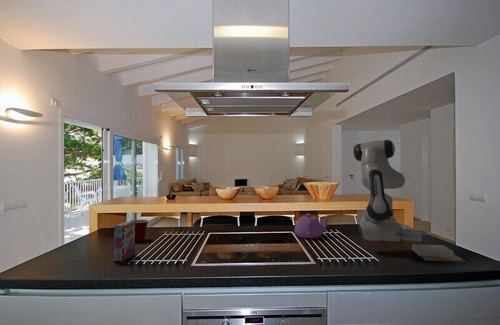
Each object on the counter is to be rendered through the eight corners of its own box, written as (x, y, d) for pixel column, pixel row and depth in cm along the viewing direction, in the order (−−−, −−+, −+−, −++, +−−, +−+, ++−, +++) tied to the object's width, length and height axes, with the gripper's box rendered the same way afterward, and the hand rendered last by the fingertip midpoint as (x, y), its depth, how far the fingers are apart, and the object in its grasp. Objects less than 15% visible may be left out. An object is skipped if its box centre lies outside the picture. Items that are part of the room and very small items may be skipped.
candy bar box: (123, 262, 130) (123, 226, 130) (113, 261, 130) (113, 225, 131) (135, 254, 141) (135, 221, 141) (125, 254, 142) (125, 221, 142)
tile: (411, 244, 141) (443, 245, 138) (412, 250, 141) (443, 251, 138) (419, 249, 131) (453, 251, 128) (419, 256, 131) (453, 258, 128)
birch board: (412, 250, 144) (412, 248, 144) (448, 251, 140) (448, 250, 140) (424, 260, 128) (424, 258, 128) (465, 262, 125) (465, 260, 125)
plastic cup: (152, 240, 170) (152, 219, 170) (135, 243, 161) (135, 222, 162) (142, 237, 176) (142, 218, 177) (126, 241, 168) (125, 220, 168)
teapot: (333, 241, 162) (332, 217, 162) (294, 240, 165) (294, 216, 165) (328, 233, 183) (328, 211, 184) (294, 232, 187) (294, 211, 187)
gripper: (400, 230, 128) (434, 231, 125) (388, 221, 148) (418, 222, 145) (400, 244, 128) (435, 245, 125) (389, 233, 148) (418, 234, 145)
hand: (425, 233), depth 135 cm, fingers closed
